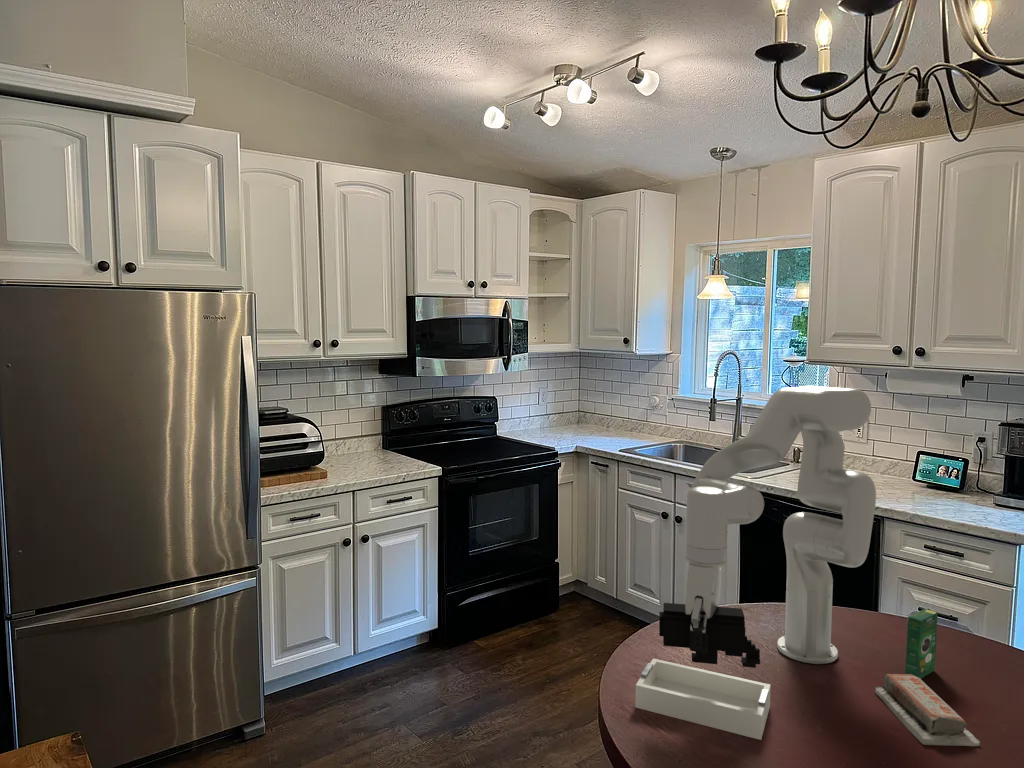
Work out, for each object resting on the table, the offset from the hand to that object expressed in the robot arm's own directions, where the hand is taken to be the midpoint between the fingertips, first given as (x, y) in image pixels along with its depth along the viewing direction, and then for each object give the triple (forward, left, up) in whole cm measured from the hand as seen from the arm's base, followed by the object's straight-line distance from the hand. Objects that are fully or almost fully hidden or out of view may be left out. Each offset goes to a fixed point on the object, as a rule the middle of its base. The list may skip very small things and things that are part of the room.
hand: (703, 641), depth 131 cm
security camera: (0, +1, -4) cm, 4 cm away
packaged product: (-16, +38, -14) cm, 43 cm away
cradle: (0, 0, -13) cm, 13 cm away
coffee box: (-34, +38, -13) cm, 53 cm away
